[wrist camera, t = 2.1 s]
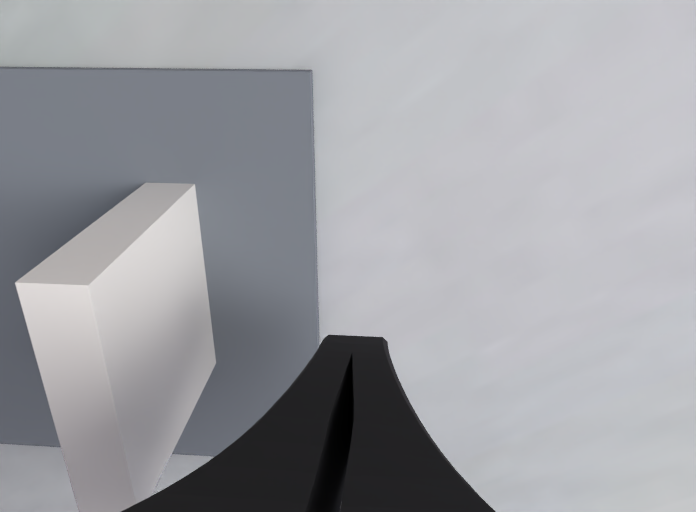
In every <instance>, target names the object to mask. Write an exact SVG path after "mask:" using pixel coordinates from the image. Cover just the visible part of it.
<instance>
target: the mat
mask: <svg viewBox="0 0 696 512" xmlns="http://www.w3.org/2000/svg"><path fill="white" fill-rule="evenodd" d="M145 183H181V184H195V189H196V198H197V206H198V214H199V223H200V231H201V240H202V248H203V256H204V265H205V273H206V282H207V290H208V299H209V307H210V315H211V324H212V332H213V341H214V349H215V358H216V364H215V366H214V368H213V370H212V373H211V375H210V377H209V379H208V381H207V383H206V385H205V387H204V389H203V391H202V393H201V395H200V397H199V399H198V401H197V403H196V405H195V407H194V409H193V411H192V414H191V416H190V418H189V420H188V422H187V424H186V426H185V428H184V430H183V432H182V434H181V436H180V438H179V440H178V442H177V444H176V446H175V448H174V450H173V452H172V454H183V455H200V456H217V455H218V454H219V453H221V452H222V451H223V450H224V449H226V448H227V447H228V446H229V445H231V444H232V443H233V442H234V441H236V440H237V439H238V438H239V437H240V436H242V435H243V434H244V433H245V432H246V431H247V430H248V429H249V428H251V427H252V426H253V425H254V424H255V423H256V422H257V421H258V420H259V419H260V418H261V417H262V416H263V415H264V414H265V413H266V412H267V411H268V410H269V409H270V408H271V407H272V406H273V405H274V404H275V402H276V401H277V400H278V399H279V398H280V397H281V396H282V395H283V394H284V393H285V392H286V390H287V389H288V388H289V387H290V386H291V384H292V383H293V382H294V381H295V379H296V378H297V377H298V376H299V374H300V373H301V372H302V371H303V369H304V368H305V367H306V365H307V364H308V362H309V361H310V360H311V358H312V357H313V355H314V354H315V352H316V351H317V349H318V348H319V314H318V276H317V237H316V198H315V159H314V120H313V81H312V70H260V69H160V68H60V67H0V444H17V445H33V446H50V447H61V446H60V442H59V439H58V435H57V431H56V428H55V424H54V421H53V417H52V414H51V410H50V406H49V403H48V399H47V396H46V392H45V389H44V385H43V381H42V378H41V374H40V371H39V367H38V363H37V360H36V356H35V353H34V349H33V346H32V342H31V338H30V335H29V331H28V328H27V324H26V321H25V317H24V313H23V310H22V306H21V303H20V299H19V296H18V292H17V288H16V285H15V282H16V281H18V280H19V279H20V278H22V277H23V276H24V275H25V274H27V273H28V272H29V271H31V270H32V269H33V268H35V267H36V266H37V265H39V264H40V263H41V262H42V261H44V260H45V259H46V258H48V257H49V256H50V255H52V254H53V253H54V252H56V251H57V250H58V249H59V248H61V247H62V246H63V245H65V244H66V243H67V242H69V241H70V240H71V239H73V238H74V237H75V236H77V235H78V234H79V233H80V232H82V231H83V230H84V229H86V228H87V227H88V226H90V225H91V224H92V223H94V222H95V221H96V220H97V219H99V218H100V217H101V216H103V215H104V214H105V213H107V212H108V211H109V210H111V209H112V208H113V207H114V206H116V205H117V204H118V203H120V202H121V201H122V200H124V199H125V198H126V197H128V196H129V195H130V194H132V193H133V192H134V191H135V190H137V189H138V188H139V187H141V186H142V185H143V184H145Z"/></svg>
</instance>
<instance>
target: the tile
mask: <svg viewBox="0 0 696 512" xmlns="http://www.w3.org/2000/svg"><path fill="white" fill-rule="evenodd" d="M15 285H16V288H17V292H18V296H19V299H20V303H21V306H22V310H23V313H24V317H25V321H26V324H27V328H28V331H29V335H30V338H31V342H32V346H33V349H34V353H35V356H36V360H37V363H38V367H39V371H40V374H41V378H42V381H43V385H44V389H45V392H46V396H47V399H48V403H49V406H50V410H51V414H52V417H53V421H54V424H55V428H56V431H57V435H58V439H59V442H60V446H61V449H62V453H63V456H64V460H65V464H66V467H67V471H68V474H69V478H70V482H71V485H72V489H73V492H74V496H75V499H76V503H77V507H78V510H79V512H121V511H123V510H125V509H127V508H129V507H131V506H133V505H135V504H137V503H139V502H141V501H143V500H145V499H147V498H149V497H151V496H152V494H153V491H154V489H155V487H156V485H157V483H158V481H159V479H160V477H161V475H162V473H163V471H164V469H165V467H166V465H167V463H168V461H169V459H170V457H171V455H172V452H173V450H174V448H175V446H176V444H177V442H178V440H179V438H180V436H181V434H182V432H183V430H184V428H185V426H186V424H187V422H188V420H189V418H190V416H191V414H192V411H193V409H194V407H195V405H196V403H197V401H198V399H199V397H200V395H201V393H202V391H203V389H204V387H205V385H206V383H207V381H208V379H209V377H210V375H211V373H212V370H213V368H214V366H215V364H216V358H215V349H214V341H213V332H212V324H211V315H210V307H209V299H208V290H207V282H206V273H205V265H204V256H203V248H202V240H201V231H200V223H199V214H198V206H197V198H196V189H195V184H181V183H145V184H143V185H142V186H141V187H139V188H138V189H137V190H135V191H134V192H133V193H132V194H130V195H129V196H128V197H126V198H125V199H124V200H122V201H121V202H120V203H118V204H117V205H116V206H114V207H113V208H112V209H111V210H109V211H108V212H107V213H105V214H104V215H103V216H101V217H100V218H99V219H97V220H96V221H95V222H94V223H92V224H91V225H90V226H88V227H87V228H86V229H84V230H83V231H82V232H80V233H79V234H78V235H77V236H75V237H74V238H73V239H71V240H70V241H69V242H67V243H66V244H65V245H63V246H62V247H61V248H59V249H58V250H57V251H56V252H54V253H53V254H52V255H50V256H49V257H48V258H46V259H45V260H44V261H42V262H41V263H40V264H39V265H37V266H36V267H35V268H33V269H32V270H31V271H29V272H28V273H27V274H25V275H24V276H23V277H22V278H20V279H19V280H18V281H16V282H15Z"/></svg>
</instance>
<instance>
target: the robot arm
mask: <svg viewBox="0 0 696 512" xmlns="http://www.w3.org/2000/svg"><path fill="white" fill-rule="evenodd" d="M340 507H341V508H340ZM121 512H495V511H494V510H493V509H492V508H491V507H490V506H489V505H488V504H487V503H486V502H485V501H484V500H483V499H482V498H481V497H480V496H479V495H478V494H477V493H476V492H475V491H474V489H473V488H472V487H471V486H470V485H469V484H468V483H467V482H466V481H465V480H464V478H463V477H462V476H461V475H460V474H459V473H458V472H457V471H456V470H455V469H454V467H453V466H452V465H451V464H450V462H449V461H448V460H447V458H446V457H445V456H444V455H443V453H442V452H441V451H440V449H439V448H438V447H437V445H436V444H435V442H434V441H433V440H432V438H431V437H430V435H429V434H428V432H427V431H426V429H425V428H424V426H423V424H422V423H421V421H420V420H419V418H418V416H417V414H416V413H415V411H414V409H413V407H412V406H411V404H410V402H409V400H408V398H407V396H406V394H405V392H404V390H403V388H402V386H401V383H400V381H399V379H398V377H397V374H396V372H395V369H394V367H393V364H392V361H391V358H390V354H389V350H388V345H387V341H386V340H385V339H384V338H383V337H365V336H343V335H328V336H327V337H326V338H324V339H323V341H322V343H321V345H320V346H319V348H318V349H317V351H316V352H315V354H314V355H313V357H312V358H311V360H310V361H309V362H308V364H307V365H306V367H305V368H304V369H303V371H302V372H301V373H300V374H299V376H298V377H297V378H296V379H295V381H294V382H293V383H292V384H291V386H290V387H289V388H288V389H287V390H286V392H285V393H284V394H283V395H282V396H281V397H280V398H279V399H278V400H277V401H276V402H275V404H274V405H273V406H272V407H271V408H270V409H269V410H268V411H267V412H266V413H265V414H264V415H263V416H262V417H261V418H260V419H259V420H258V421H257V422H256V423H255V424H254V425H253V426H252V427H251V428H249V429H248V430H247V431H246V432H245V433H244V434H243V435H242V436H240V437H239V438H238V439H237V440H236V441H234V442H233V443H232V444H231V445H229V446H228V447H227V448H226V449H224V450H223V451H222V452H221V453H219V454H218V455H217V456H215V457H214V458H213V459H211V460H210V461H209V462H207V463H206V464H204V465H203V466H201V467H200V468H198V469H197V470H195V471H193V472H192V473H190V474H189V475H187V476H186V477H184V478H182V479H181V480H179V481H177V482H176V483H174V484H172V485H171V486H169V487H167V488H165V489H164V490H162V491H160V492H158V493H156V494H154V495H153V496H151V497H149V498H147V499H145V500H143V501H141V502H139V503H137V504H135V505H133V506H131V507H129V508H127V509H125V510H123V511H121Z"/></svg>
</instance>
